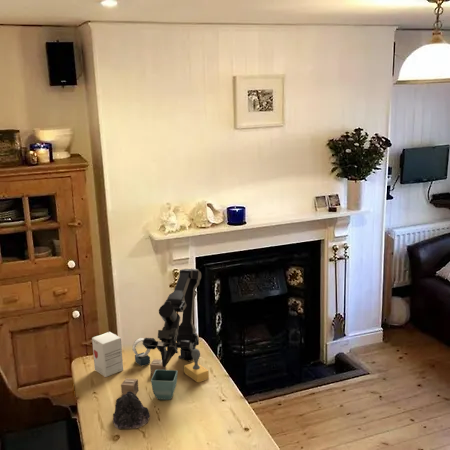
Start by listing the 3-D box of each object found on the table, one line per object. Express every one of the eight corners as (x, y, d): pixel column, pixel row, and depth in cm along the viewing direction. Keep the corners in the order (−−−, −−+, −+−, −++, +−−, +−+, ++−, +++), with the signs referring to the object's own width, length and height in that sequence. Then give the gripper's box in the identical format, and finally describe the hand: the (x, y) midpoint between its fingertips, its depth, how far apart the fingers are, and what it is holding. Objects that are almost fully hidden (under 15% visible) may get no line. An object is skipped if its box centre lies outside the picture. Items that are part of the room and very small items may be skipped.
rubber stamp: (209, 378, 232) (208, 351, 229) (197, 383, 228) (196, 355, 226) (195, 369, 240) (194, 342, 237) (184, 373, 236) (182, 346, 233)
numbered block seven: (154, 369, 240) (154, 358, 239) (166, 370, 239) (165, 359, 238) (150, 375, 235) (150, 364, 234) (162, 376, 234) (161, 365, 233)
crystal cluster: (137, 436, 196) (139, 410, 194) (103, 426, 200) (104, 400, 198) (155, 418, 208) (157, 393, 206) (122, 409, 212) (124, 384, 210)
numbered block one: (126, 389, 225) (125, 377, 224) (138, 390, 224) (137, 378, 223) (121, 396, 220) (120, 384, 219) (134, 397, 219) (133, 385, 218)
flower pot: (178, 390, 223) (177, 369, 221) (174, 403, 214) (173, 381, 212) (156, 390, 224) (155, 369, 222) (151, 402, 215) (150, 380, 213)
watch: (154, 362, 246) (152, 338, 244) (137, 367, 242) (135, 343, 239) (148, 357, 251) (146, 334, 248) (131, 362, 246) (129, 339, 244)
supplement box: (93, 370, 241) (91, 337, 237) (112, 363, 247) (109, 330, 243) (105, 377, 234) (102, 344, 231) (123, 370, 240) (121, 337, 237)
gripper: (142, 318, 219) (134, 357, 211) (189, 321, 215) (183, 361, 207) (150, 329, 228) (142, 367, 220) (195, 331, 225) (189, 371, 217)
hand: (164, 366), depth 216 cm, fingers closed
